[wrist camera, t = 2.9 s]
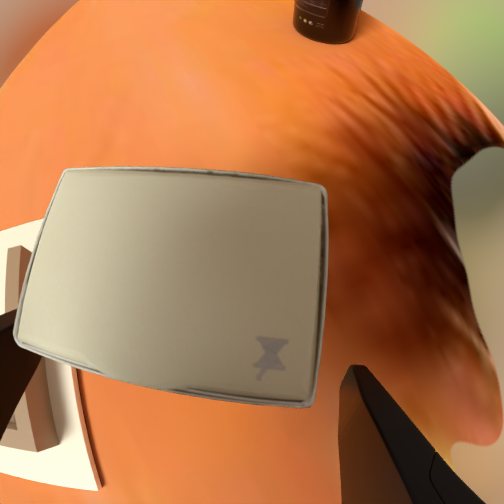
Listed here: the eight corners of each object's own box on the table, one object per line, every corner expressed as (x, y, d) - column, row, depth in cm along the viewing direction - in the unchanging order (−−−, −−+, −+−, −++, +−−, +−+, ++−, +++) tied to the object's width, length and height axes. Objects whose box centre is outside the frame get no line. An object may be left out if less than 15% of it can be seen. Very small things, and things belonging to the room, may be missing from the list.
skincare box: (280, 300, 17) (347, 180, 6) (272, 378, 16) (335, 414, 5) (168, 285, 18) (59, 157, 6) (155, 360, 16) (3, 343, 5)
